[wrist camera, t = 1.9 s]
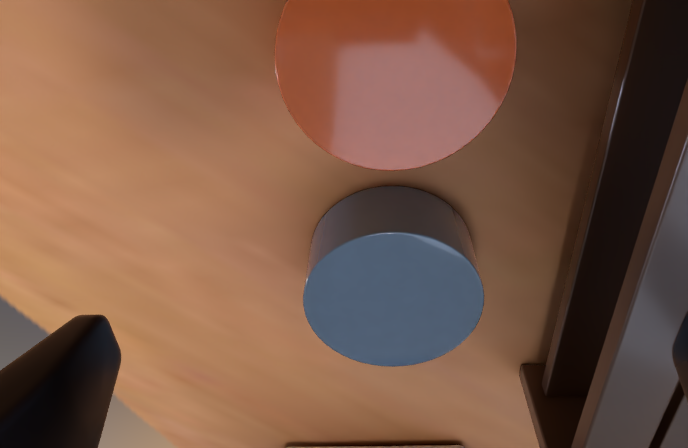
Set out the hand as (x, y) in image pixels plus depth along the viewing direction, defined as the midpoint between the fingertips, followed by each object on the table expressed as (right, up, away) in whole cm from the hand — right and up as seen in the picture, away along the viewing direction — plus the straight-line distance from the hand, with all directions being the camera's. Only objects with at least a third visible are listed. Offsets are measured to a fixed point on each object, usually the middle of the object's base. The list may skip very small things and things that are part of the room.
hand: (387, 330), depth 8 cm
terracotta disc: (+1, +8, +8) cm, 11 cm away
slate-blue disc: (+1, 0, +13) cm, 13 cm away
